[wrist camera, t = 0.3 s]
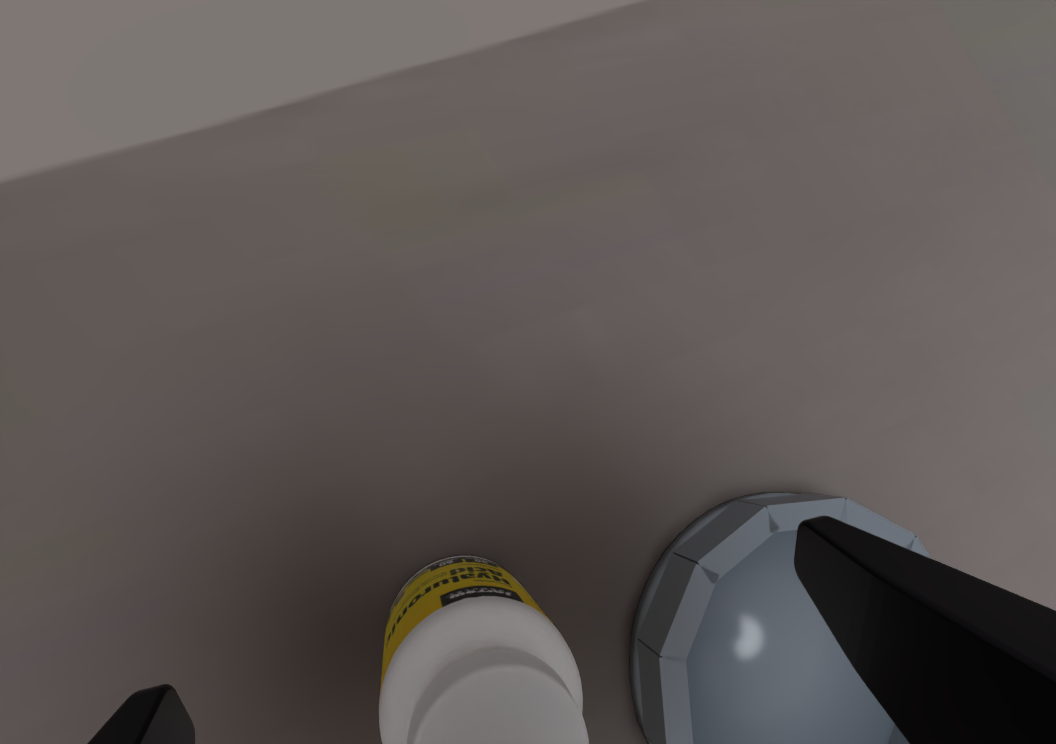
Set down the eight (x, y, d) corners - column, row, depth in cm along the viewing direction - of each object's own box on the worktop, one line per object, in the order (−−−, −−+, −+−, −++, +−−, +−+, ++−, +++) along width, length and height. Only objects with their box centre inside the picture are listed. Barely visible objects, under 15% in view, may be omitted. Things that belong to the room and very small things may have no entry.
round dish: (963, 679, 27) (1027, 707, 24) (748, 900, 24) (794, 960, 21) (806, 431, 26) (853, 430, 24) (566, 622, 23) (588, 646, 21)
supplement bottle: (499, 528, 23) (571, 592, 14) (550, 661, 23) (660, 819, 14) (361, 589, 22) (336, 707, 12) (415, 731, 22) (431, 959, 12)
